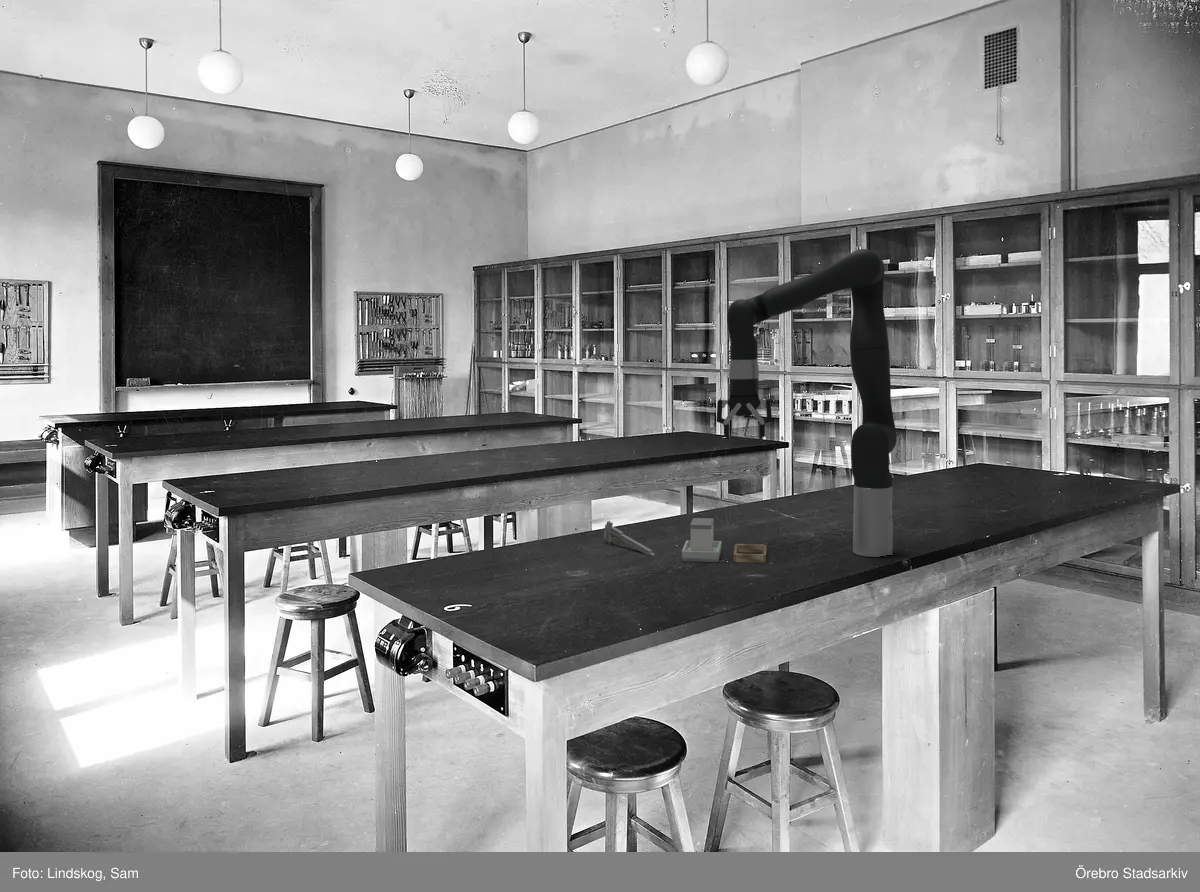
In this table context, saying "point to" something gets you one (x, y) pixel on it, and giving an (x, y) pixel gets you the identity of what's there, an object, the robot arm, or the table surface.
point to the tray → (701, 553)
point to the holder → (750, 557)
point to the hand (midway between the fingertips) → (744, 438)
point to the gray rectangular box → (702, 534)
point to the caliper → (623, 539)
